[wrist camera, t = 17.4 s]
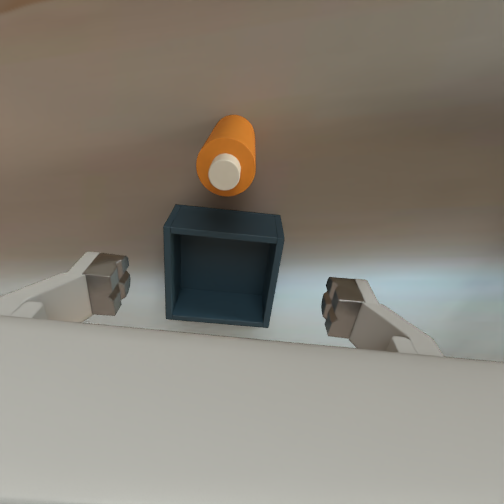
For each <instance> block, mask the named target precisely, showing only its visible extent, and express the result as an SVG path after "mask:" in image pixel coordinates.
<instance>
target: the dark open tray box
mask: <svg viewBox="0 0 504 504" xmlns="http://www.w3.org/2000/svg"><path fill="white" fill-rule="evenodd" d="M163 230H164V265H165V301H166V319H170V320H182V321H193V322H205V323H217V324H228V325H240V326H252V327H263V328H268V327H269V321H270V316H271V310H272V305H273V299H274V294H275V288H276V283H277V277H278V272H279V266H280V261H281V255H282V250H283V244H284V233H283V228H282V222H281V217H280V215H273V214H263V213H253V212H244V211H234V210H225V209H215V208H205V207H196V206H186V205H177V204H176V205H175V207H174V208H173V210H172V212H171V214H170V216H169V218H168V219H167V221H166V223H165V225H164V227H163Z"/></svg>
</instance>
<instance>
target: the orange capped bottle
mask: <svg viewBox="0 0 504 504" xmlns="http://www.w3.org/2000/svg"><path fill="white" fill-rule="evenodd" d="M196 169H197V174H198V177H199V179H200V181H201V182H202V184H203V185H204V186H205V187H206V188H207V189H208V190H209V191H211V192H212V193H215V194H217V195H220V196H234V195H237V194H240V193H242V192H243V191H245V190H246V189H247V188H248V187H249V186H250V184H251V183H252V181H253V179H254V176H255V170H256V162H255V133H254V130H253V127H252V125H251V124H250V123H249V121H247V120H246V119H245V118H243V117H241V116H238V115H229V116H226V117H224V118H222V119H221V120H220V121H219V122H218V123H217V124H216V126H215V128H214V129H213V131H212V133H211V134H210V136H209V137H208V139H207V141H206V142H205V144H204V146H203V147H202V149H201V151H200V152H199V154H198V157H197V162H196Z"/></svg>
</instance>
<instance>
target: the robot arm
mask: <svg viewBox="0 0 504 504" xmlns="http://www.w3.org/2000/svg"><path fill="white" fill-rule="evenodd" d="M128 266H129V261H128V257H127V256H123V255H115V254H107V253H100V252H86V253H85V254H84V255H83V256H82V257H81V258H80V259H79V260H78V261H77V262H76V264H75V265H74V266H73V267H72V268H71V269H70V270H69V271H68V272H67V273H60V274H58V275H55V276H53V277H50V278H47V279H45V280H42V281H39V282H37V283H34V284H32V285H29V286H26V287H24V288H21V289H18V290H16V291H13V292H11V293H8V294H5V295H3V296H0V504H504V362H496V361H485V360H474V359H463V358H453V357H444V355H443V353H442V352H441V350H440V349H439V347H438V346H437V344H436V342H435V341H434V339H433V338H431V337H430V336H428V335H427V334H425V333H424V332H422V331H421V330H419V329H418V328H417V327H415V326H414V325H412V324H411V323H409V322H408V321H406V320H405V319H403V318H402V317H400V316H399V315H398V314H396V313H395V312H393V311H392V310H390V309H389V308H387V307H386V306H384V305H383V304H379V303H378V301H377V299H376V297H375V295H374V293H373V291H372V289H371V287H370V285H369V283H368V281H367V280H362V279H347V278H334V277H329V279H328V281H327V284H326V287H327V290H328V291H327V292H326V293H324V295H323V299H322V306H321V308H322V315H323V317H324V318H325V319H326V322H325V327H326V330H327V334H328V336H332V337H340V338H349V340H350V341H351V342H352V343H353V344H354V346H355V347H356V348H346V347H335V346H325V345H314V344H303V343H292V342H282V341H271V340H260V339H249V338H239V337H228V336H217V335H207V334H196V333H185V332H175V331H164V330H153V329H142V328H132V327H121V326H110V325H100V324H89V323H82V322H83V321H85V320H86V319H88V318H89V317H91V316H92V314H96V315H110V316H115V315H116V313H117V311H118V310H119V308H120V306H121V299H123V298H125V297H126V296H127V294H128V291H129V287H130V274H129V273H128V272H127V271H126V269H127V268H128Z"/></svg>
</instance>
